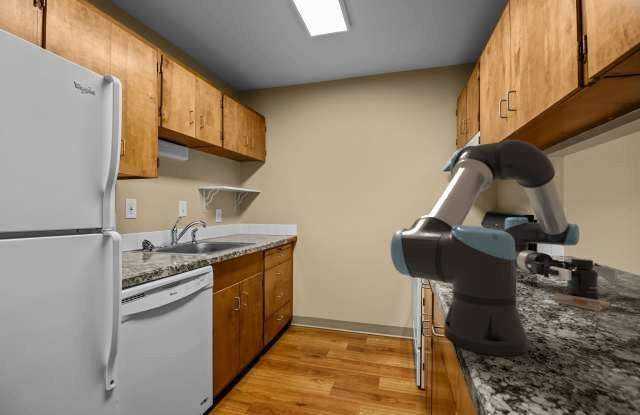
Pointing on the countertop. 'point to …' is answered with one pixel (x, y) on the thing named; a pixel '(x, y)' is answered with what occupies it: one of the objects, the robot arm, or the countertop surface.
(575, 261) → the supplement bottle
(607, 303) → the flat beige box
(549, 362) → the countertop surface
